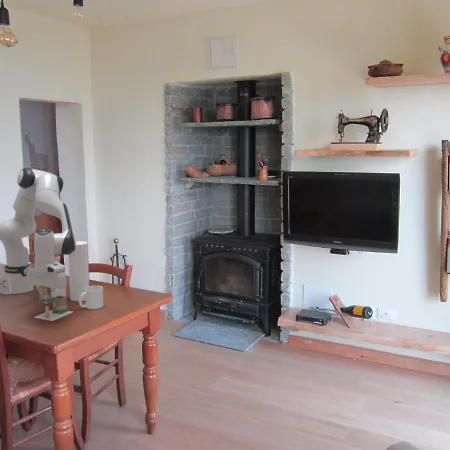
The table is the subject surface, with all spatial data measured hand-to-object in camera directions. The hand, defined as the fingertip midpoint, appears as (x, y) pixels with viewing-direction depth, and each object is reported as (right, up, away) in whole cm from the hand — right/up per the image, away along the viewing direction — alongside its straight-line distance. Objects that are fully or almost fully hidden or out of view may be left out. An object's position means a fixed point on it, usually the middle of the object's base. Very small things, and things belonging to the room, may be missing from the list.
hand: (46, 296), depth 231 cm
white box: (-4, -7, +23) cm, 24 cm away
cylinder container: (+6, -7, +30) cm, 31 cm away
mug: (+15, -9, +16) cm, 24 cm away
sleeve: (0, -2, 0) cm, 2 cm away
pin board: (+1, -10, +5) cm, 12 cm away
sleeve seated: (+3, -9, +9) cm, 13 cm away
